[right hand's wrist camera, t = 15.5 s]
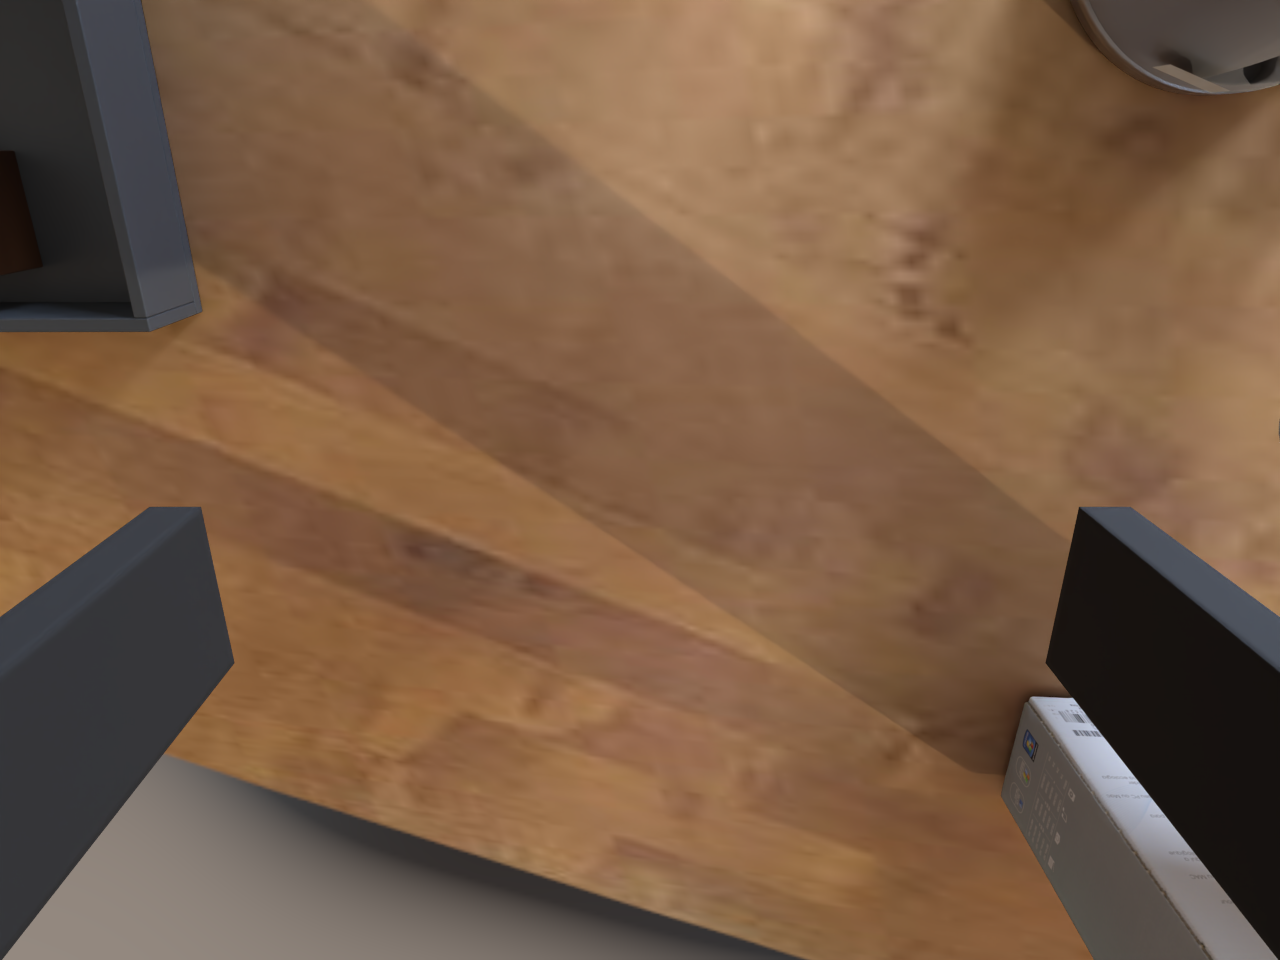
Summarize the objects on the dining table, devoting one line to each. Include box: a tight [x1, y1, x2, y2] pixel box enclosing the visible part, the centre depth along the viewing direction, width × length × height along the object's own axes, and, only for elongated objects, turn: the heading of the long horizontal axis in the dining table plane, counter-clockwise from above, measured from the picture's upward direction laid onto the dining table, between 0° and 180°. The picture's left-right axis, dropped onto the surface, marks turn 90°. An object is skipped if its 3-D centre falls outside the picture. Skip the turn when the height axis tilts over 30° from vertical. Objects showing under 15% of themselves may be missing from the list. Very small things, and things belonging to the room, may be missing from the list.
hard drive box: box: [1001, 697, 1278, 960], centre depth 40 cm, size 16×8×20 cm, turn 87°
